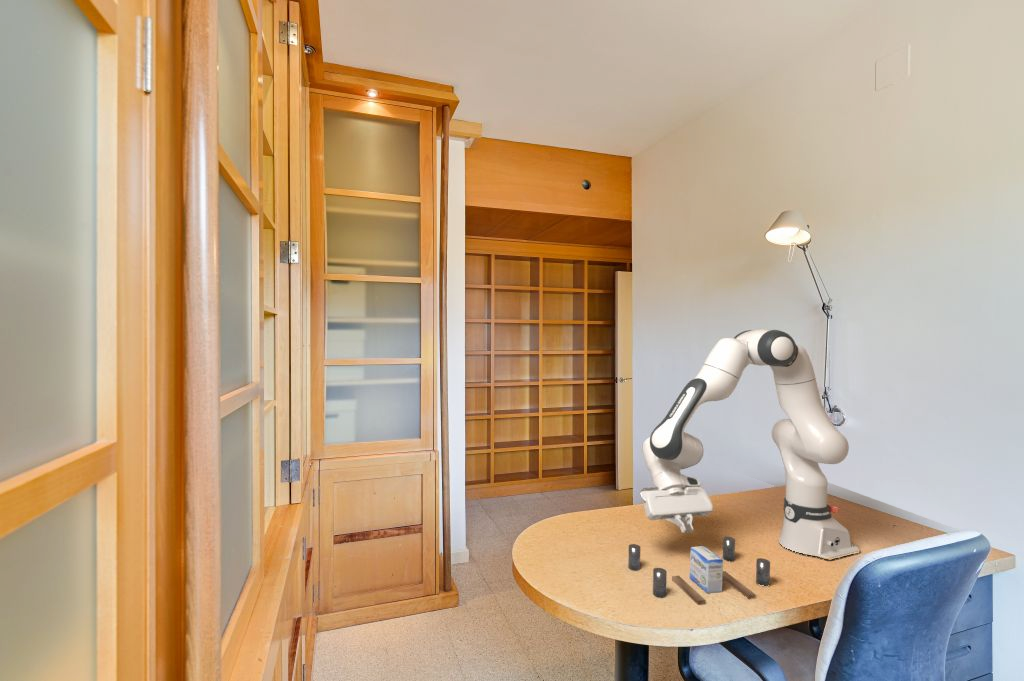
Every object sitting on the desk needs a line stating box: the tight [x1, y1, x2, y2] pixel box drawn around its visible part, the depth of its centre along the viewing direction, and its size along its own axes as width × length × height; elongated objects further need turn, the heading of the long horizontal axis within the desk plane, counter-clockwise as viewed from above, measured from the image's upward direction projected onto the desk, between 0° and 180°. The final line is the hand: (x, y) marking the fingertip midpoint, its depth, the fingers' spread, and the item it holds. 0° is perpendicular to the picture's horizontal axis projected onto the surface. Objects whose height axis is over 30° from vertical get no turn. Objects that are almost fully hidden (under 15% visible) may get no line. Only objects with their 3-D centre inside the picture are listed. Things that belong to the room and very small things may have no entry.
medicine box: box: [689, 545, 724, 594], centre depth 127 cm, size 8×4×9 cm, turn 13°
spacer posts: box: [627, 536, 771, 599], centre depth 132 cm, size 33×17×6 cm, turn 102°
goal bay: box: [671, 570, 757, 606], centre depth 125 cm, size 16×12×1 cm
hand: (688, 531), depth 137 cm, fingers closed
